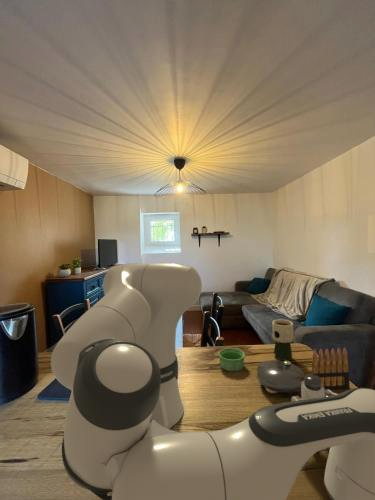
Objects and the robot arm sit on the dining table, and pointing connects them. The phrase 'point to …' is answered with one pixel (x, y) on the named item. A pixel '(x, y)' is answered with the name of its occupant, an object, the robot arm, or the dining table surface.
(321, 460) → the dining table surface
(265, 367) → the grey lid
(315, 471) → the dining table surface
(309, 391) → the clear bottle
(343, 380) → the ammunition clip
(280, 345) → the character mug
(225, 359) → the ramekin
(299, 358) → the dining table surface
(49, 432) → the dining table surface
